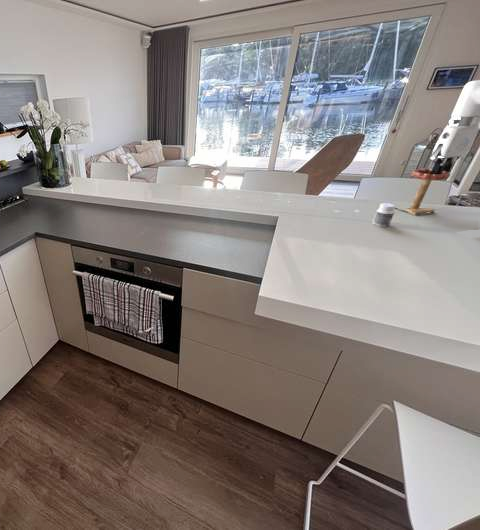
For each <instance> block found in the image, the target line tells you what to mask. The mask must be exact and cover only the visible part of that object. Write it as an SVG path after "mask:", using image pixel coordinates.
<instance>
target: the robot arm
mask: <svg viewBox="0 0 480 530" xmlns="http://www.w3.org/2000/svg"><path fill="white" fill-rule="evenodd" d="M455 103H456V104H455V106H454V108H453V110H452V112H451V115H450V117H449V119H448V122H447V124H446V126H445V128H443V131H442V133H441V134H440V136H439V137H438V139H437V141H436V143H435V145H434V147H433V150H432V153H431V157H430V160H431V161H433V167H432V168H431V169H432V171H431V173H430V174H442V172H443V171H447V172H449V173H450V172H451V169H452V167H453V165H455V163H456V162H457V160H459V159H460V158H462V157H464V156H466V155H468V154H469V153H470V151H471V149H472V147H473V145H474V142H475V140H476V138H477V135H478V131H479V127H480V79H477V80H476V79H475V80H471V81H468V82H466V84H465V85H464V86H463V89H462V90H461V92H460V95H459V97H458V99H457V101H456V102H455Z"/></svg>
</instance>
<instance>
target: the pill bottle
mask: <svg viewBox="0 0 480 530" xmlns="http://www.w3.org/2000/svg"><path fill="white" fill-rule="evenodd" d="M395 206H396V205H395V204H393V203H389V202H383V203H380V205H379V208H378V209H376V212H375V215H374V218H373V220H372V224H371V225H373V226H376V227H378V228H379V227H380V228H388V227H390V225H391V222H392V219H393V217H394V216H395V210H396V209H395Z"/></svg>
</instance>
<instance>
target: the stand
mask: <svg viewBox="0 0 480 530" xmlns="http://www.w3.org/2000/svg"><path fill="white" fill-rule="evenodd" d="M432 181H433V180H424V179H421V182H420V185H419V187H418V190H417V192H416V194H415V196H414V199H413V200H412V202H411V203H412V205H411V207H410V208H407V209H406V210H407V211H409V212H410V213H411V214H410V215H412V214H413V215H412V216H419V215H418V214H420V215H423V214H422V213H427V212H432V211H435V212H436V209H435V208H432V207H428V208H419V207H420V205H421V204H422V202H423V200H424V198H425V196H426V193H427V191H428V189H429V187H430V185H431V183H432ZM427 214H428V213H427Z"/></svg>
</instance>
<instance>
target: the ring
mask: <svg viewBox="0 0 480 530" xmlns="http://www.w3.org/2000/svg"><path fill="white" fill-rule="evenodd" d="M432 169H433V168H418V169H414V170H412V171H411V172H410V176H411V177H412V178H414V179H418V180H423V179H424V180H432V181H443V180H447V179H449V177H450V176H451V173H450V171H449V172H447V171H443V172H442V174H430V173H431V171H432Z"/></svg>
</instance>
